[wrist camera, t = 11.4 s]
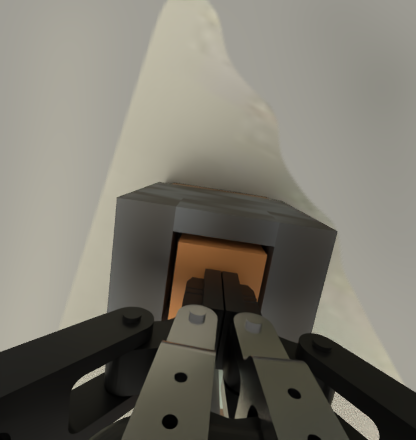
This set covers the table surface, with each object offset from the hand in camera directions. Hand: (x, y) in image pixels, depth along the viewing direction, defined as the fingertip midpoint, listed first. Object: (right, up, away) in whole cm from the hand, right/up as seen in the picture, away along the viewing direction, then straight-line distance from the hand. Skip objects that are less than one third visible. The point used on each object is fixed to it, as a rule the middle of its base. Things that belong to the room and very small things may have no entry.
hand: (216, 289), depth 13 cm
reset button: (0, +1, +3) cm, 3 cm away
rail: (-1, -8, +14) cm, 16 cm away
